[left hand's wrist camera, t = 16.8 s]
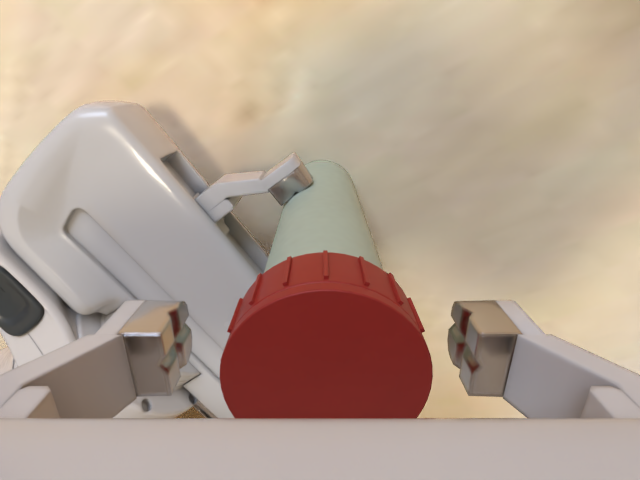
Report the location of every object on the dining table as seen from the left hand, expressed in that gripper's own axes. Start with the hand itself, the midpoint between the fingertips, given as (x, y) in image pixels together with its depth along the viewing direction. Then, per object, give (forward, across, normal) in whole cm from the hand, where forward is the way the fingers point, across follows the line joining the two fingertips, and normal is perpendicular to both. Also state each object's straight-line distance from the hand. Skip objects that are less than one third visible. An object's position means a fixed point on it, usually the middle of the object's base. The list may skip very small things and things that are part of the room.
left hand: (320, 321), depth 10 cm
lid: (-2, 0, 0) cm, 2 cm away
